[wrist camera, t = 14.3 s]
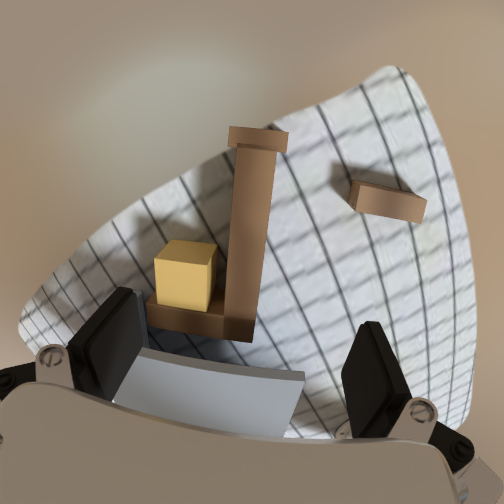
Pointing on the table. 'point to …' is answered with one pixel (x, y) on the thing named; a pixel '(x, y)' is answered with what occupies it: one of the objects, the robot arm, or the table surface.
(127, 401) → the grey angled slab
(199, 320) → the mallet
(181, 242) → the block
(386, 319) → the table surface
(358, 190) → the tan rectangular bar
